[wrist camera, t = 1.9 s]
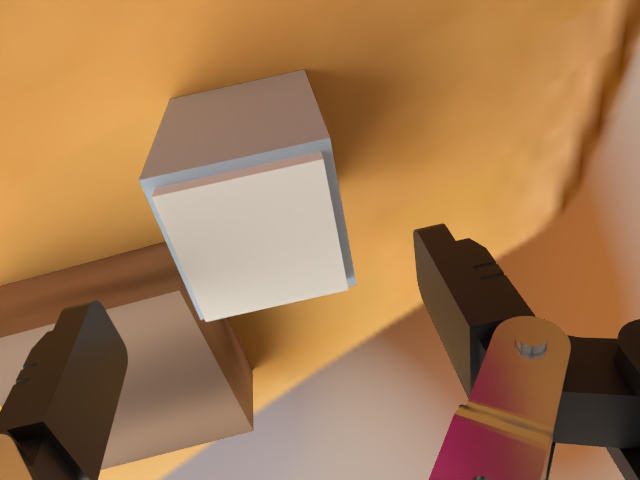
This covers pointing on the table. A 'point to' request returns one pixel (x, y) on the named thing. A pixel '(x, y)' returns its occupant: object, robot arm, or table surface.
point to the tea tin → (249, 197)
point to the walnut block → (141, 351)
